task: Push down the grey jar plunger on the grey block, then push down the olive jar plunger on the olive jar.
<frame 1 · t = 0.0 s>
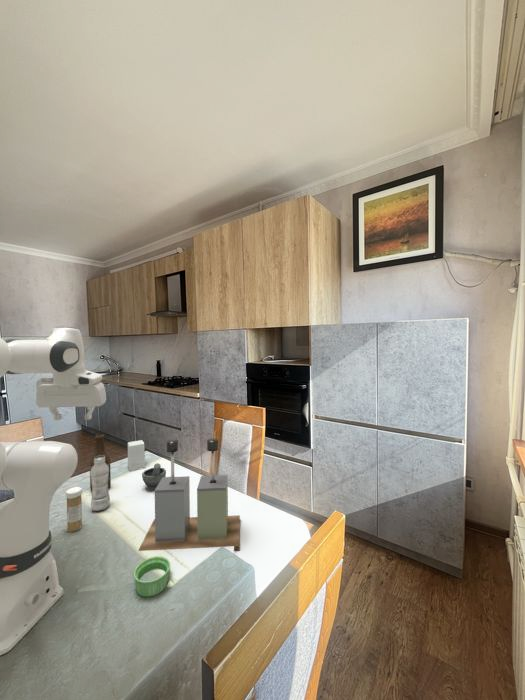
hand: (73, 419, 96), 39 cm above the table, tool pointing down, fingers open, 8 cm apart
olive jar plunger: (212, 468, 97), point 22 cm above the table, slide at 10.0 cm
sprinkles bottle: (74, 528, 102), on the table
grey block: (173, 532, 97), resting on walnut board
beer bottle: (100, 490, 128), on the table
plastic bottle: (100, 509, 114), on the table
grey jar plunger: (172, 470, 96), point 22 cm above the table, slide at 10.0 cm
mortar and pestle: (154, 488, 130), on the table
supplement box: (136, 467, 152), on the table
walnut board: (193, 535, 97), on the table
ramekin: (152, 585, 78), on the table
olive jar: (213, 530, 98), resting on walnut board
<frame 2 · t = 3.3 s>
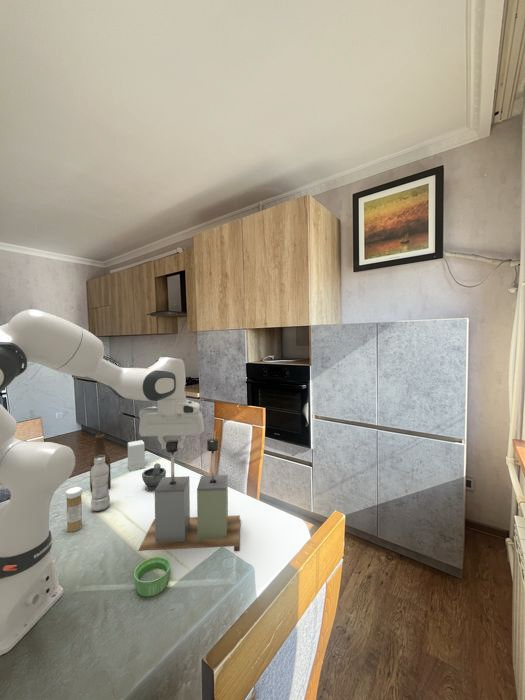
hand: (172, 448, 96), 29 cm above the table, tool pointing down, fingers closed on grey jar plunger, 4 cm apart
grey jar plunger: (172, 470, 96), point 22 cm above the table, slide at 10.0 cm, touching gripper
everything else where it was.
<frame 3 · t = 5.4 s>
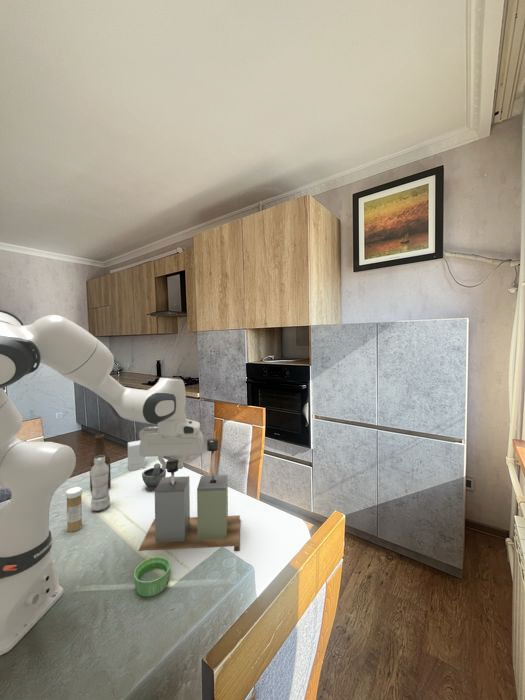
hand: (172, 468, 96), 23 cm above the table, tool pointing down, fingers closed on grey jar plunger, 4 cm apart
grey jar plunger: (172, 489, 96), point 16 cm above the table, slide at 3.5 cm, touching gripper
everything else where it was.
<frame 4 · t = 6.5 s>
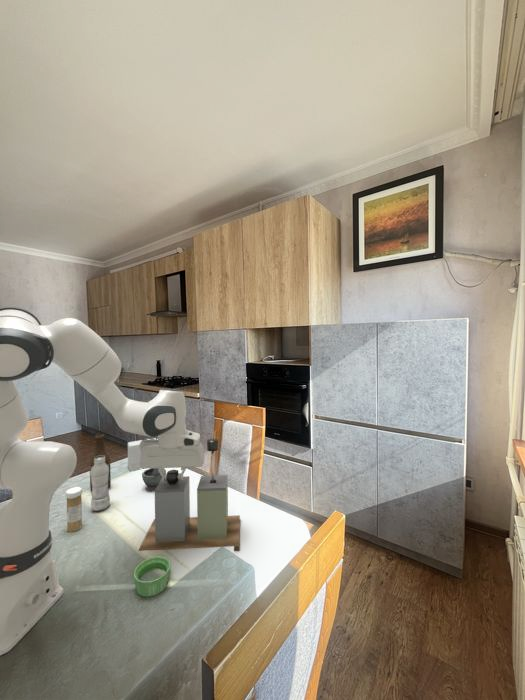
hand: (172, 480, 96), 19 cm above the table, tool pointing down, fingers closed on grey jar plunger, 3 cm apart
grey jar plunger: (173, 500, 97), point 12 cm above the table, slide at -0.1 cm, touching gripper
everything else where it was.
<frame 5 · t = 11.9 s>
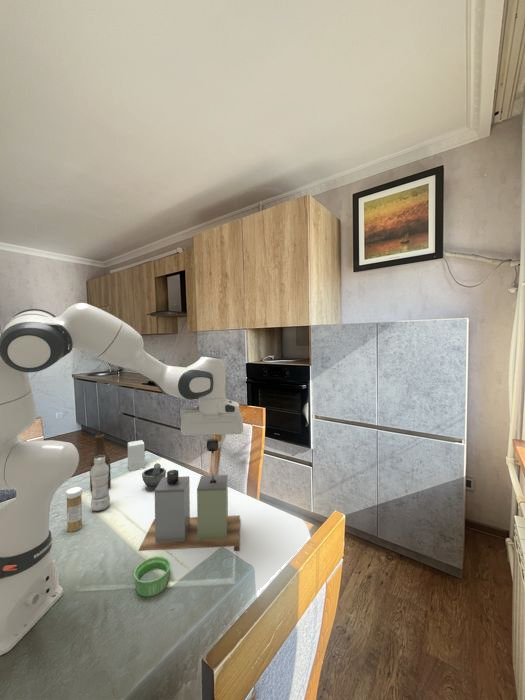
hand: (212, 447, 97), 29 cm above the table, tool pointing down, fingers closed on olive jar plunger, 4 cm apart
olive jar plunger: (212, 468, 97), point 22 cm above the table, slide at 10.0 cm, touching gripper
grey jar plunger: (173, 500, 97), point 12 cm above the table, slide at -0.1 cm
everything else where it was.
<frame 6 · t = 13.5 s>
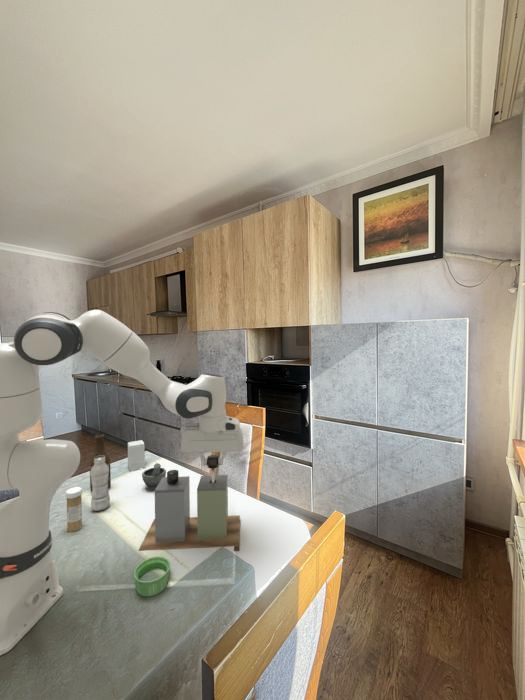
hand: (212, 464, 97), 23 cm above the table, tool pointing down, fingers closed on olive jar plunger, 4 cm apart
olive jar plunger: (213, 485, 97), point 16 cm above the table, slide at 4.4 cm, touching gripper
everything else where it was.
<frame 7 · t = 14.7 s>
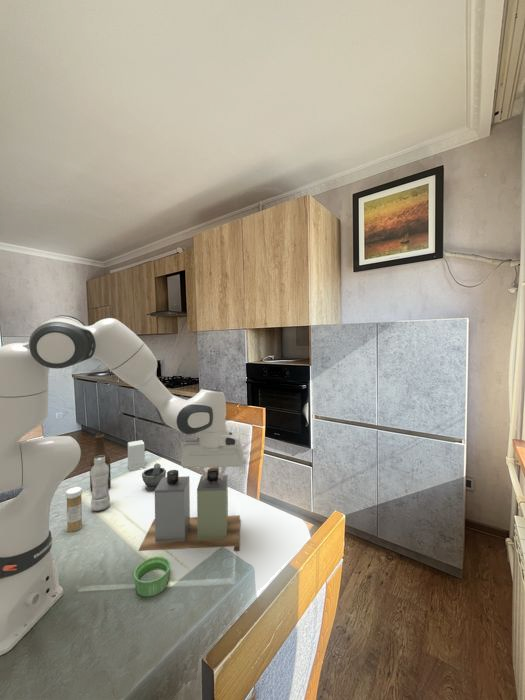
hand: (213, 479, 97), 19 cm above the table, tool pointing down, fingers closed on olive jar plunger, 3 cm apart
olive jar plunger: (213, 498, 97), point 12 cm above the table, slide at 0.1 cm, touching gripper
everything else where it was.
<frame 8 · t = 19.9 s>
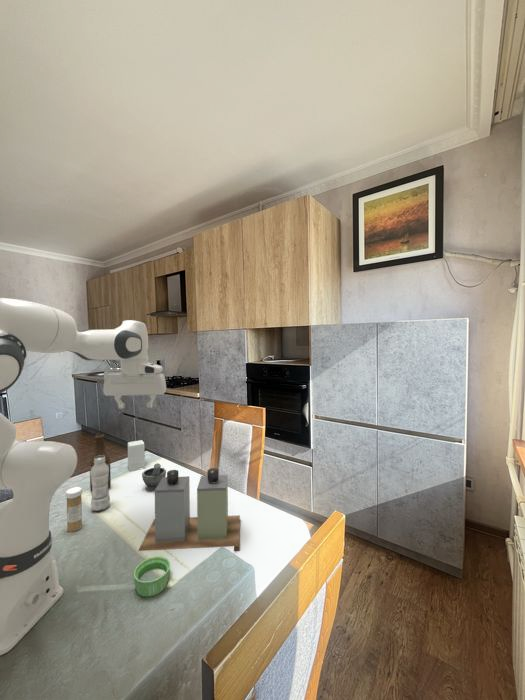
hand: (135, 408, 102), 41 cm above the table, tool pointing down, fingers open, 8 cm apart
olive jar plunger: (213, 499, 97), point 12 cm above the table, slide at 0.0 cm
everything else where it was.
at the end: grey jar plunger slide at -0.1 cm; olive jar plunger slide at 0.0 cm; the gripper is holding nothing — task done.
